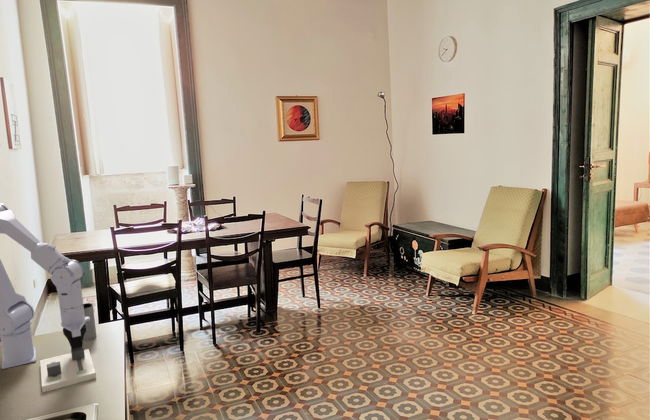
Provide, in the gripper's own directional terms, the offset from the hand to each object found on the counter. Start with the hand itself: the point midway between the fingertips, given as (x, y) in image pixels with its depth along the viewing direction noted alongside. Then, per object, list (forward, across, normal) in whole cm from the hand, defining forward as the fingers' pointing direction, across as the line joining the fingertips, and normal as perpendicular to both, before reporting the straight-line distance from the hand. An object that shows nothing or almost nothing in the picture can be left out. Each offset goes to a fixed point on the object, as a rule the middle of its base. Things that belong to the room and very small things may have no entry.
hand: (77, 351), depth 135 cm
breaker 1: (0, -9, +6) cm, 11 cm away
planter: (+2, +14, -4) cm, 15 cm away
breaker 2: (0, -3, 0) cm, 3 cm away
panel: (+2, -6, +3) cm, 7 cm away
